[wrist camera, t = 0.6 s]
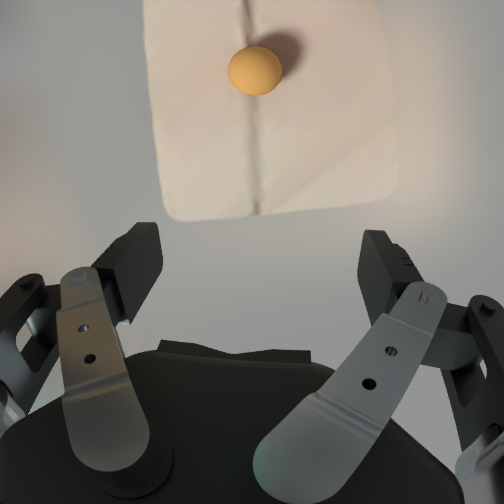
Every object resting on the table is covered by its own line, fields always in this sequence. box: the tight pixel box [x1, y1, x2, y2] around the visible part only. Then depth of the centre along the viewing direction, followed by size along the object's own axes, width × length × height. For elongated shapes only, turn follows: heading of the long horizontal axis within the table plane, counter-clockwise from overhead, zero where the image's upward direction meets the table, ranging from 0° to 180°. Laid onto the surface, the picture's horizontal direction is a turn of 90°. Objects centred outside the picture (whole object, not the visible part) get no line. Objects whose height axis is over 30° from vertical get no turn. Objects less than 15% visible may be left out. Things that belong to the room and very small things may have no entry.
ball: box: [228, 46, 282, 96], centre depth 26 cm, size 5×5×5 cm
